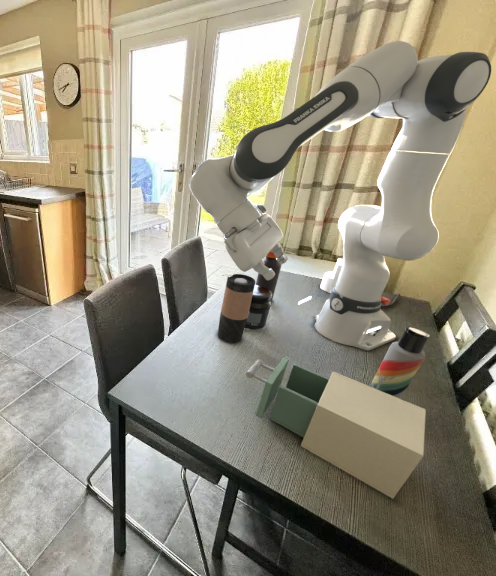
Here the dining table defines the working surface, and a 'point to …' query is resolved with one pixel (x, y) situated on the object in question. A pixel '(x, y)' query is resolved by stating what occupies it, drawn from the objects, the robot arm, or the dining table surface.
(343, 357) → the dining table surface
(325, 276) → the cylinder with rectangular tab
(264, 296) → the supplement container
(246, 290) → the travel mug
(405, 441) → the matchbox drawer box
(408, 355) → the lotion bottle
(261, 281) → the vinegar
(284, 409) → the green pull-out drawer
